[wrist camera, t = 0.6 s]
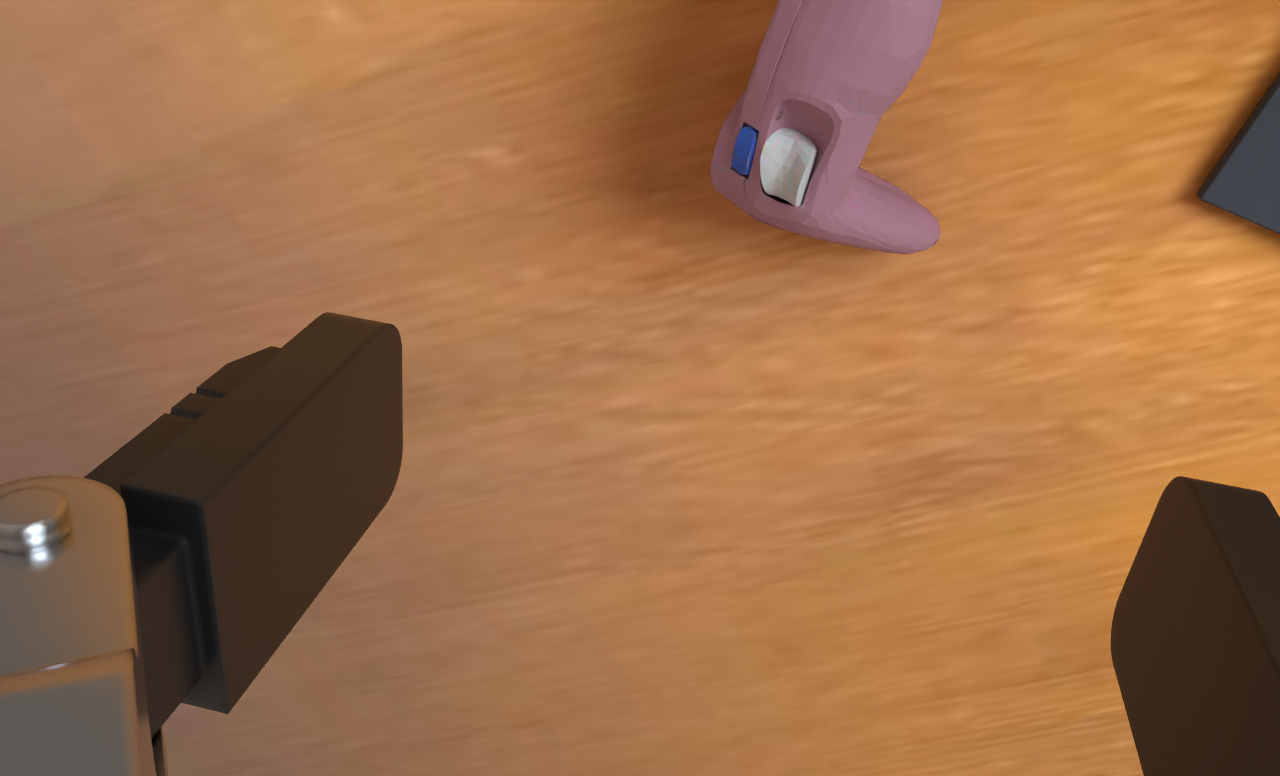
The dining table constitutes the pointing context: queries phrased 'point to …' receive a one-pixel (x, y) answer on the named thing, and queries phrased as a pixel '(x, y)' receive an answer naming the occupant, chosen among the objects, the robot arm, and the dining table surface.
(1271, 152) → the felt mat
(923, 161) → the dining table surface
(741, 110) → the video game controller
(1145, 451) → the dining table surface
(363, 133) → the dining table surface
